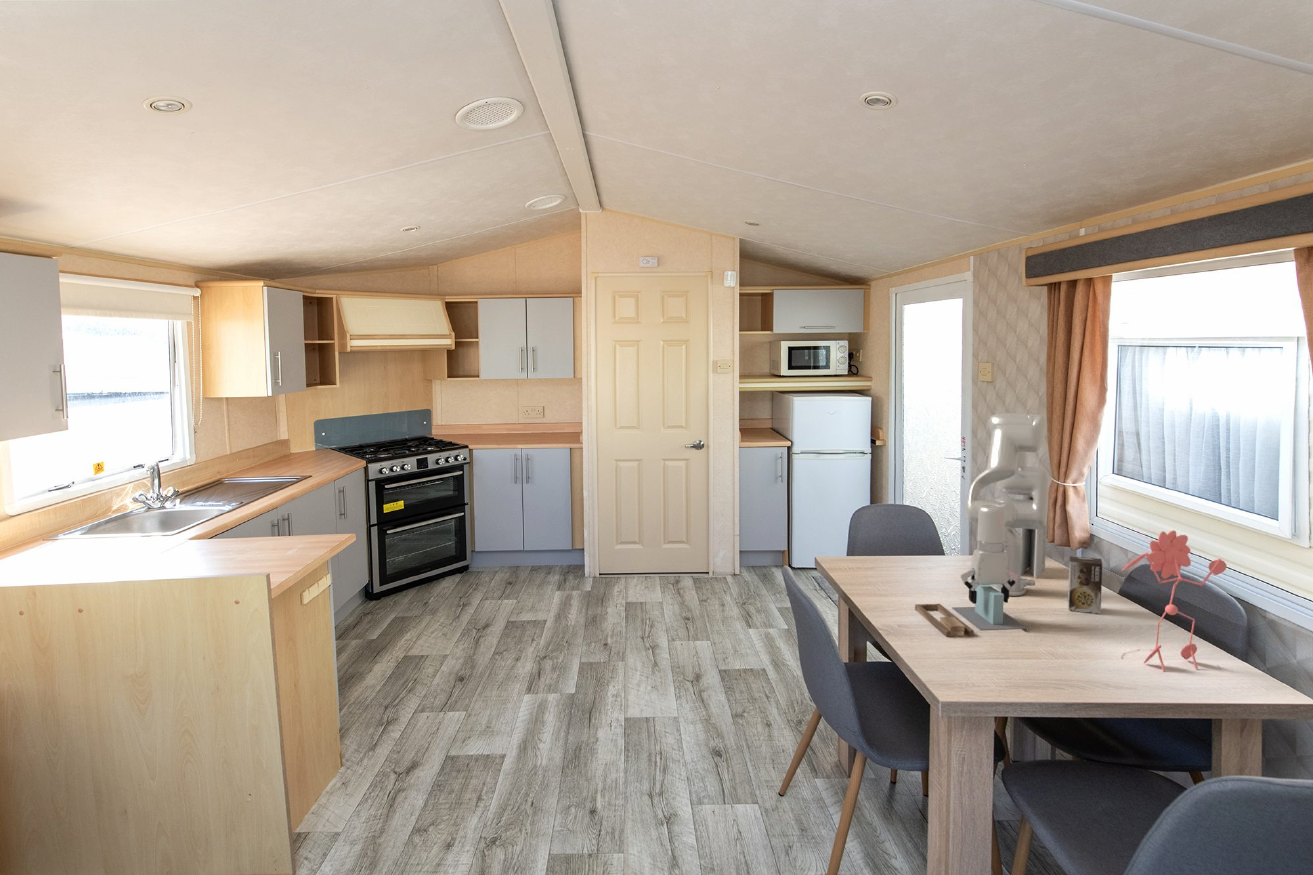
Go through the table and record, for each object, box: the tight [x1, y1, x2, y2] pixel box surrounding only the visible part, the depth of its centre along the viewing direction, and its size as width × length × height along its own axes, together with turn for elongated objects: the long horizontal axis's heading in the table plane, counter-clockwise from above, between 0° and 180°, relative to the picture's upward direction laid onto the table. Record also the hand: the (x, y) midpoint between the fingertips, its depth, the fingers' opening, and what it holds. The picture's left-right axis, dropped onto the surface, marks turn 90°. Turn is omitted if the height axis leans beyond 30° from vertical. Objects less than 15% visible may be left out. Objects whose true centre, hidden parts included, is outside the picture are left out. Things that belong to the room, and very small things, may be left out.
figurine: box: [1121, 530, 1227, 672], centre depth 215 cm, size 15×26×35 cm, turn 96°
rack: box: [914, 603, 975, 638], centre depth 245 cm, size 8×24×2 cm, turn 3°
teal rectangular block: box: [974, 585, 1005, 624], centre depth 248 cm, size 3×12×9 cm, turn 3°
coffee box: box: [1067, 556, 1104, 615], centre depth 256 cm, size 9×6×16 cm
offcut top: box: [939, 616, 965, 632], centre depth 237 cm, size 4×8×2 cm, turn 2°
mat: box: [951, 606, 1028, 632], centre depth 248 cm, size 14×20×1 cm
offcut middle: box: [951, 631, 965, 637], centre depth 237 cm, size 4×8×2 cm, turn 1°
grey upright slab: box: [1020, 495, 1048, 579], centre depth 297 cm, size 14×6×30 cm, turn 143°
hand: (988, 601), depth 248 cm, fingers open, 9 cm apart
